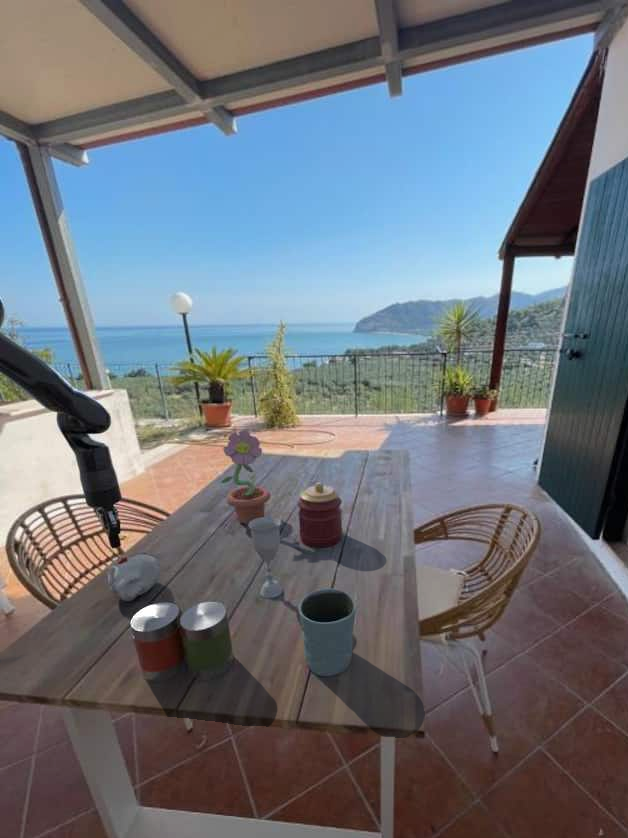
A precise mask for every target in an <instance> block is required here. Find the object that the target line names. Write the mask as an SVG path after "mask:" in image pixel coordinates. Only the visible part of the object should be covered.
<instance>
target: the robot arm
mask: <svg viewBox="0 0 628 838" xmlns="http://www.w3.org/2000/svg"><path fill="white" fill-rule="evenodd" d="M5 309H6V308H5V304H4V301H3V299H2V297H1V296H0V329H1V328H2V326H3V323H4V321H5V312H6V311H5ZM0 374H1V375H3V376H4V377H5V378H7V379H8V380H10V381H11V382H12V383H13V384H15V385H16V386H17V387H18V388H20V389H21V390H22V391H23V392H25V393H26V394H27V395H29V396H30V397H31V398H32V399H33V400H34V401H36V402H37V403H38V404H40V405H41V406H42V407H43V408H45V409H46V410H48V411H50V412H53V413H56V425H57V427H58V429H59V431H60V433H61V434H62V436H63V438H64V439H65V441H66V442H67V444H68V446H69V448H70V449H71V450H72V452H73V454H74V457H75V461H76V464H77V468H78V472H79V473H78V474H79V480H80V484H81V488H82V492H83V495H84V499H85V504H86V506H87V507H89V508H95V509H96V510H95V511H96V515H97V516H98V518H99V522H100V525H101V526H102V528H103V530H104V532H105V534H106V536H107V538H108V544H109V547H111V549H117V548H120V547H122V544H121V543H122V542H121V539H120V534H121V520H120V519H119V511H118V508H116V507H115V505H116V504H118V503H119V502H121V501H122V499H123V497H122V493H121V488H120V483H119V479H118V476H117V472H116V470H115V467H114V463H113V458H112V454H111V451H110V447H109V445H108V444H106V443H104V442H102V441H98V440H95V439H93V437H92V435H101V434H104V433H106V432H107V431H109V429H110V428H111V425H112V418H111V414H110V412H109V410H108V409H107V407H105V406H104V405H103V404H102V403H101V402H100V401H98V400H97V399H95V398H94V397H92V396H90V395H88V394H87V393H85V392H83V391H81V390H80V389H77V388H76V387H74V386H73V385H72V384H71V383H70V382H69V381H68V380H67V379H66V378H65V377H64V376H63V375H62V374H61V373H59V372H58V370H56V369H55V368H54V367H53V366H51V365H50V364H49V363H47V361H44V360H43V359H41V358H40V357H38V356H37V355H35V354H34V353H32V352H30V351H29V350H28V349H26V348H24V347H23V346H21V345H19V344H18V343H16V342H15V341H13V340H12V339H11V338H9V337H8V336H6V335H5V334H3V332H1V331H0Z"/></svg>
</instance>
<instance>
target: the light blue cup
mask: <svg viewBox="0 0 628 838" xmlns="http://www.w3.org/2000/svg"><path fill="white" fill-rule="evenodd" d="M356 611H357V603H356V600H355V599H354V597H353V596H352V595H351V594H350V593H348V592H346V591H344V590H341V589H338V588H337V589H336V588H323V589H318V590H315V591H312V592H310V593H308V594H306V595H305V596H304V597H303V598H302V599H301V600H300V602H299V604H298V615H299V619H300V626H301V631H302V641H303V646H304V656H305V663H306V665H307V668H308V670H310V671H311V672H312V673H313V674H315V675H317V676H320V677H334V676H337V675H339V674H341V673H343V672H344V671H346V670H347V669H348V667H349V666H350V664H351V661H352V655H353V653H352V650H353V638H354V629H355V628H354V626H355V619H356Z"/></svg>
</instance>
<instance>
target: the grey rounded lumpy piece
mask: <svg viewBox="0 0 628 838" xmlns="http://www.w3.org/2000/svg"><path fill="white" fill-rule="evenodd" d="M146 553H147V552H141V553H139V554H136V555H134V556H130V557H122V558H121V559H120V560H119V561H118V562H117V563H116V564H115V565H112V566H110V567H109V569H108V571H107V584H108V585H109V590H110V592H112V593H113V594H115V595H116V596H118V597H120V599H121V600H122V601H125V602H132V601H133V600H135V599H136V598H137V597H138V596H142V595H143V594H145V593H147V592H148V591H149V590H150V589H151V588H153V587H154V585H155V583H156V582H157V580H158V579H159V576H160V568H159V564H158V561H157V558H155V557H153V556H151V555H148V554H146Z"/></svg>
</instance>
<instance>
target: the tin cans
mask: <svg viewBox="0 0 628 838" xmlns="http://www.w3.org/2000/svg"><path fill="white" fill-rule="evenodd" d="M179 609H180V608H179V607H178V606H177V605H176V604H175V603H173V602H158V603H153V604H150V605H147V606H145V607H143V608H142V609H140V610H139V611H137V612H136V613H135V614H134V615H133V617H131V620H130V628H131V632H132V639H133V643H134V647H135V651H136V655H137V659H138V662H139V666H140V668H141V673H142V676H143V678H144V679H145V680H147V681H148V682H152V683H153V682H154V683H158V682H159V683H160V682H165V681H168V680H170V679H172V678H174V677H176V676H177V675H179V674H180V673H181V672H182V671H183V670H184V669H185V668H186V666H187V665H188V670H189V674H190V676H191V677H192V678H193V679H195V680H197V681H201V682H205V681H212V680H216V679H218V678H219V677H221V676H222V675H224V674H226V673H227V672H228V671H229V669H230V668H231V667H232V665H233V662H234V656H233V655H234V654H233V645H232V639H231V633H230V632H231V631H230V624H229V619H228V614H227V609H226V606H225V605H224V604H223V603H220V602H217V601H204V602H200V603H197V604H195V605H192V606H191V607H189V608H187V609H186V610H185V611H184V612H183V613H182V614H180V610H179Z"/></svg>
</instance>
